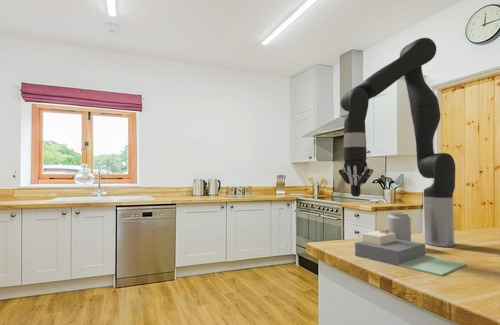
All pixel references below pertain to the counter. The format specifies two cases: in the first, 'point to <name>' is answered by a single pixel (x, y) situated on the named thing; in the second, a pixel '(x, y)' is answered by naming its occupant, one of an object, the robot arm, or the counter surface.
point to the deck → (390, 251)
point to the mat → (432, 265)
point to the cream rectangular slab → (379, 237)
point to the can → (399, 225)
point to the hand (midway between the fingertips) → (355, 196)
